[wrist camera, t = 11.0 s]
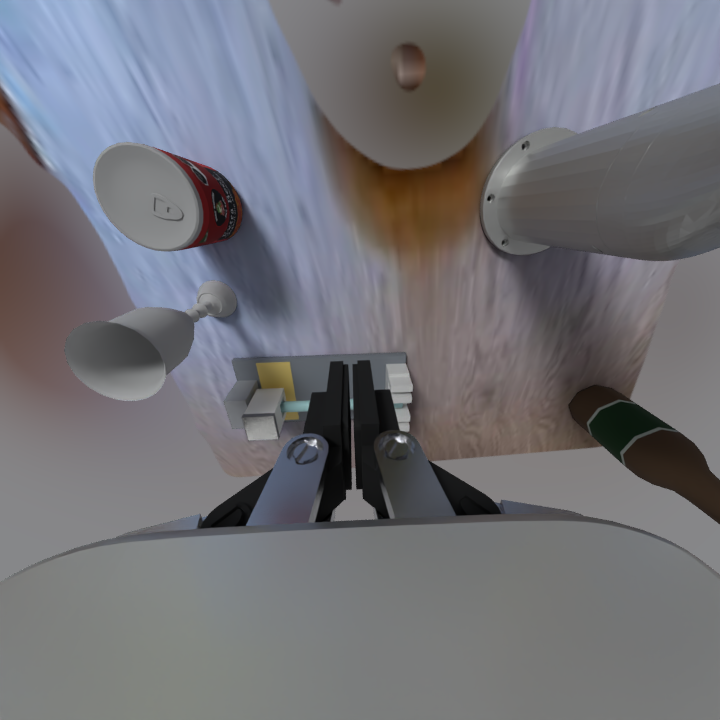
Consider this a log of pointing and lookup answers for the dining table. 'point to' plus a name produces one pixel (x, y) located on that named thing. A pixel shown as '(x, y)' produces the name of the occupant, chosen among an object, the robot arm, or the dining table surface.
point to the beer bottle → (647, 446)
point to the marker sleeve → (264, 415)
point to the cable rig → (314, 382)
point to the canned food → (164, 198)
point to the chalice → (141, 344)
